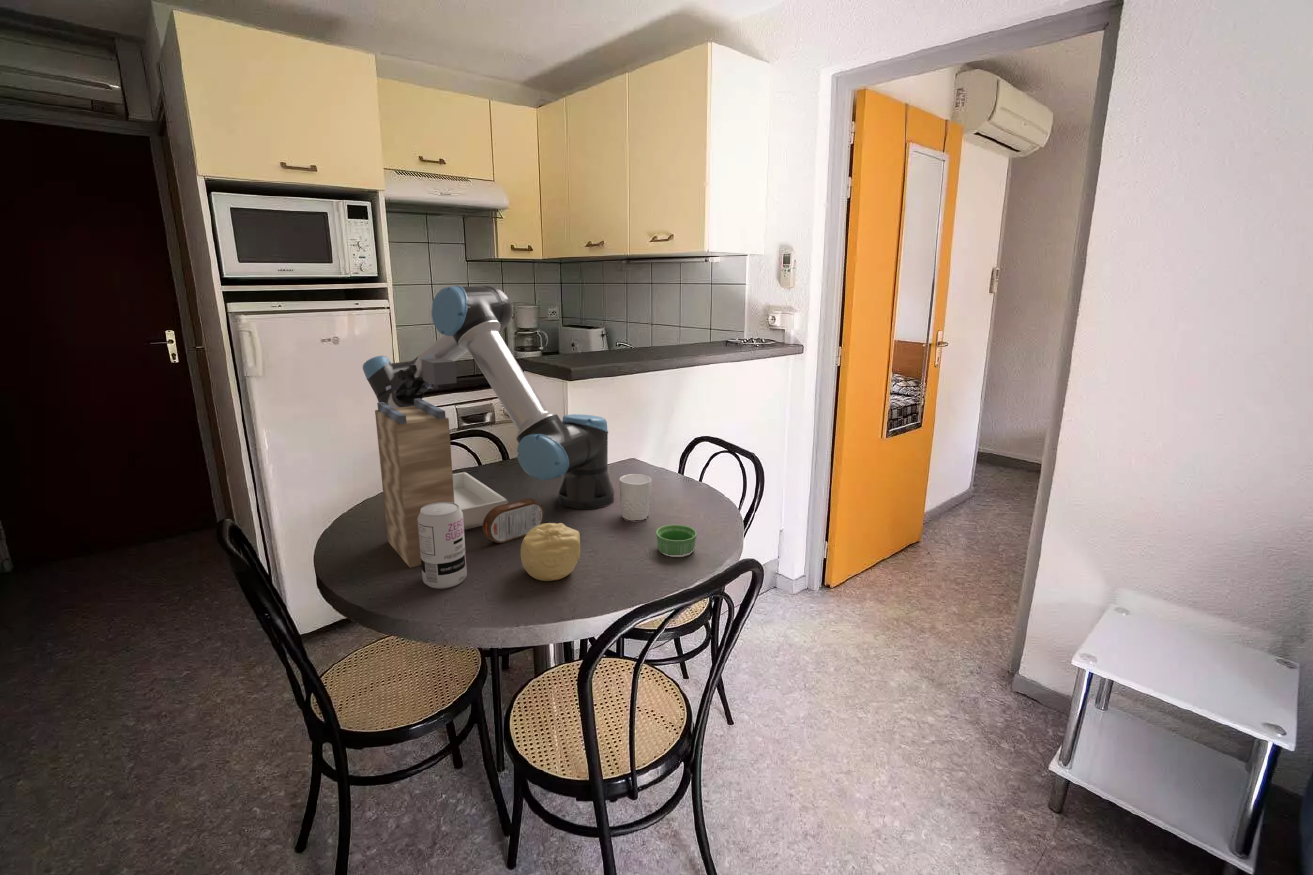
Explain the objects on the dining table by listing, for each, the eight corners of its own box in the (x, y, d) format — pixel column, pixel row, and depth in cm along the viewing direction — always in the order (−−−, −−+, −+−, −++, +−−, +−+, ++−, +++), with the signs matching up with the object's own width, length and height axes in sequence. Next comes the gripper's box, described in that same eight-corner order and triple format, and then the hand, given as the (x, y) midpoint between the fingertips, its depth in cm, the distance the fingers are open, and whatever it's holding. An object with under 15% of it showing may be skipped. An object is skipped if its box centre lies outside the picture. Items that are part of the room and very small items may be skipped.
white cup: (652, 511, 158) (653, 474, 155) (649, 523, 150) (649, 484, 148) (622, 510, 159) (622, 473, 156) (617, 521, 151) (617, 483, 149)
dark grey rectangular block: (406, 374, 155) (404, 354, 154) (426, 372, 158) (424, 353, 157) (435, 385, 140) (433, 362, 138) (456, 382, 143) (455, 361, 141)
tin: (539, 526, 147) (538, 493, 145) (547, 530, 145) (546, 497, 143) (482, 544, 137) (480, 509, 135) (489, 549, 135) (487, 513, 133)
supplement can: (429, 571, 124) (423, 501, 121) (471, 570, 125) (466, 500, 121) (417, 590, 116) (411, 516, 113) (462, 589, 117) (457, 516, 113)
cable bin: (416, 498, 164) (415, 480, 163) (466, 488, 172) (465, 471, 171) (454, 532, 143) (452, 512, 142) (508, 519, 151) (507, 500, 150)
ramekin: (649, 545, 138) (649, 527, 137) (685, 539, 142) (685, 522, 140) (665, 562, 130) (666, 543, 129) (703, 555, 134) (704, 537, 133)
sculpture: (528, 592, 117) (526, 539, 114) (516, 565, 127) (514, 517, 125) (586, 581, 121) (586, 530, 118) (570, 556, 132) (569, 509, 129)
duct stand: (388, 541, 138) (374, 402, 130) (433, 531, 144) (422, 398, 136) (410, 567, 125) (396, 416, 118) (458, 555, 131) (448, 410, 124)
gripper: (437, 406, 171) (463, 372, 153) (378, 413, 161) (398, 378, 143) (431, 381, 172) (455, 345, 154) (372, 386, 163) (390, 348, 144)
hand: (428, 361), depth 149 cm, fingers closed on dark grey rectangular block, 2 cm apart
